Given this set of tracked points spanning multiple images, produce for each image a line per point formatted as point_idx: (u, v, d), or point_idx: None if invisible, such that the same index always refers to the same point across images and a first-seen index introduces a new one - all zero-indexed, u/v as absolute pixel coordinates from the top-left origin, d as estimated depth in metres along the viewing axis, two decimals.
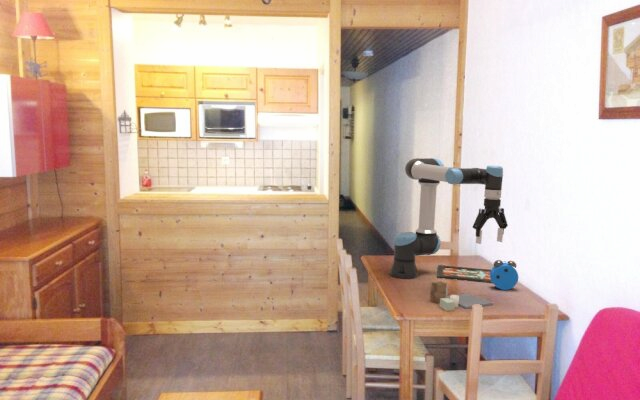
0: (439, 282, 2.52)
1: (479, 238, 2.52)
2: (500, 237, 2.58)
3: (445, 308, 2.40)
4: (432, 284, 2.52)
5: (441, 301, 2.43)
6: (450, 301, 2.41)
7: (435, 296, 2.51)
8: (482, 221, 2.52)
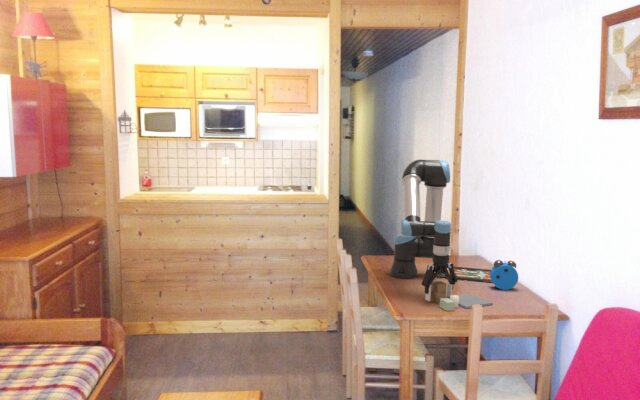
0: (439, 282, 2.52)
1: (428, 295, 2.49)
2: (449, 293, 2.55)
3: (446, 308, 2.40)
4: (432, 284, 2.52)
5: (441, 301, 2.43)
6: (450, 301, 2.41)
7: (435, 296, 2.51)
8: (431, 278, 2.49)
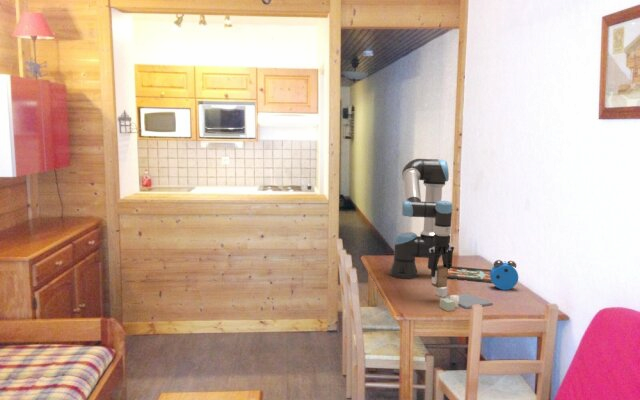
0: (440, 266, 2.52)
1: (434, 278, 2.50)
2: None
3: (446, 308, 2.40)
4: None
5: (441, 301, 2.43)
6: (450, 301, 2.41)
7: None
8: (435, 260, 2.49)
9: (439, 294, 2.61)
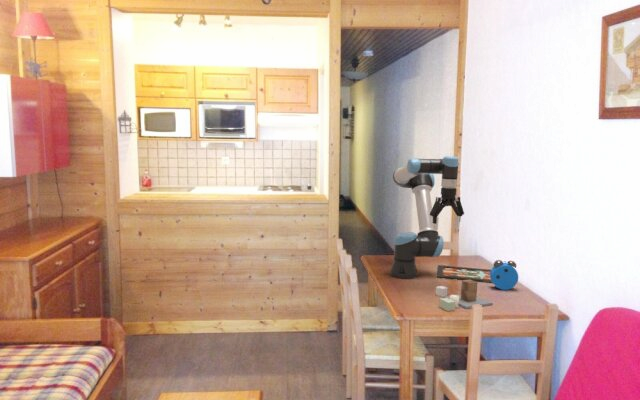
0: (470, 281, 2.52)
1: (436, 225, 2.66)
2: (457, 224, 2.73)
3: (446, 308, 2.40)
4: (463, 283, 2.52)
5: (441, 301, 2.43)
6: (450, 301, 2.41)
7: (466, 295, 2.51)
8: (439, 209, 2.66)
9: (439, 294, 2.61)
